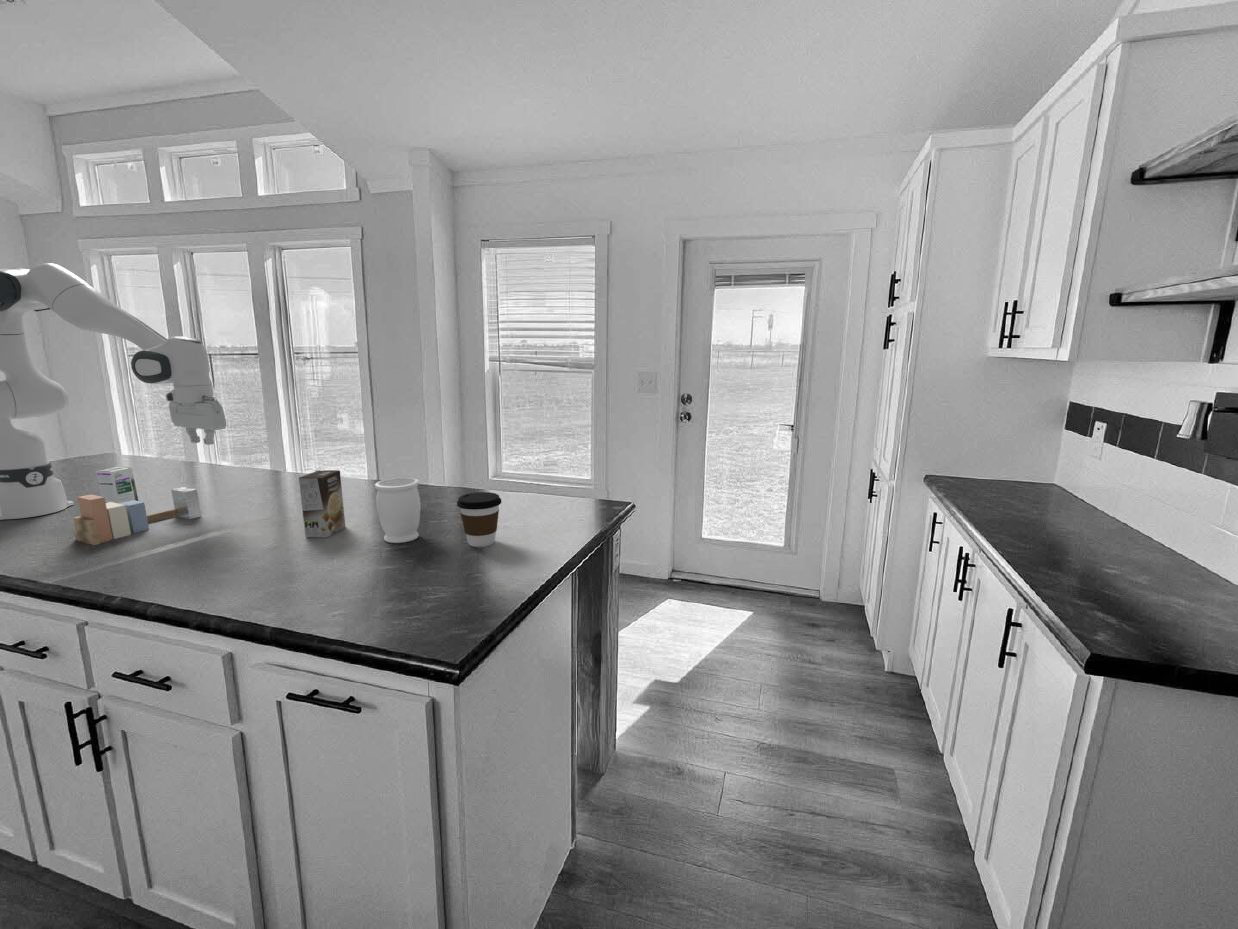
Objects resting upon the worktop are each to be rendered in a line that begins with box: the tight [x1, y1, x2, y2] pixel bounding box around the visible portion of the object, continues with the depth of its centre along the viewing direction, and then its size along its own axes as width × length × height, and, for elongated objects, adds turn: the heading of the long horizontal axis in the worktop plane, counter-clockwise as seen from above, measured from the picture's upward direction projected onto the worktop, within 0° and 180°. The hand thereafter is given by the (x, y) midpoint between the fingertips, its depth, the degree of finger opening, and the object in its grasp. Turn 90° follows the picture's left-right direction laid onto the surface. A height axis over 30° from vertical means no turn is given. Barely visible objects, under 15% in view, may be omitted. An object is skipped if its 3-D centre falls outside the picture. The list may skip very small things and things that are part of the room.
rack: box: [72, 508, 176, 546], centre depth 153 cm, size 9×25×7 cm, turn 155°
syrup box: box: [95, 466, 139, 503], centre depth 165 cm, size 6×6×14 cm
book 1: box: [76, 494, 113, 542], centre depth 144 cm, size 6×3×11 cm, turn 65°
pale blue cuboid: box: [118, 500, 150, 534], centre depth 151 cm, size 5×3×8 cm, turn 65°
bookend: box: [171, 486, 202, 520], centre depth 162 cm, size 7×3×8 cm, turn 65°
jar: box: [374, 477, 421, 544], centre depth 147 cm, size 11×10×15 cm
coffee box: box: [298, 469, 346, 539], centre depth 151 cm, size 9×6×16 cm
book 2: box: [106, 502, 132, 540], centre depth 147 cm, size 7×4×8 cm, turn 65°
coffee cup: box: [456, 491, 502, 548], centre depth 144 cm, size 11×11×12 cm
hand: (202, 443), depth 165 cm, fingers open, 5 cm apart
